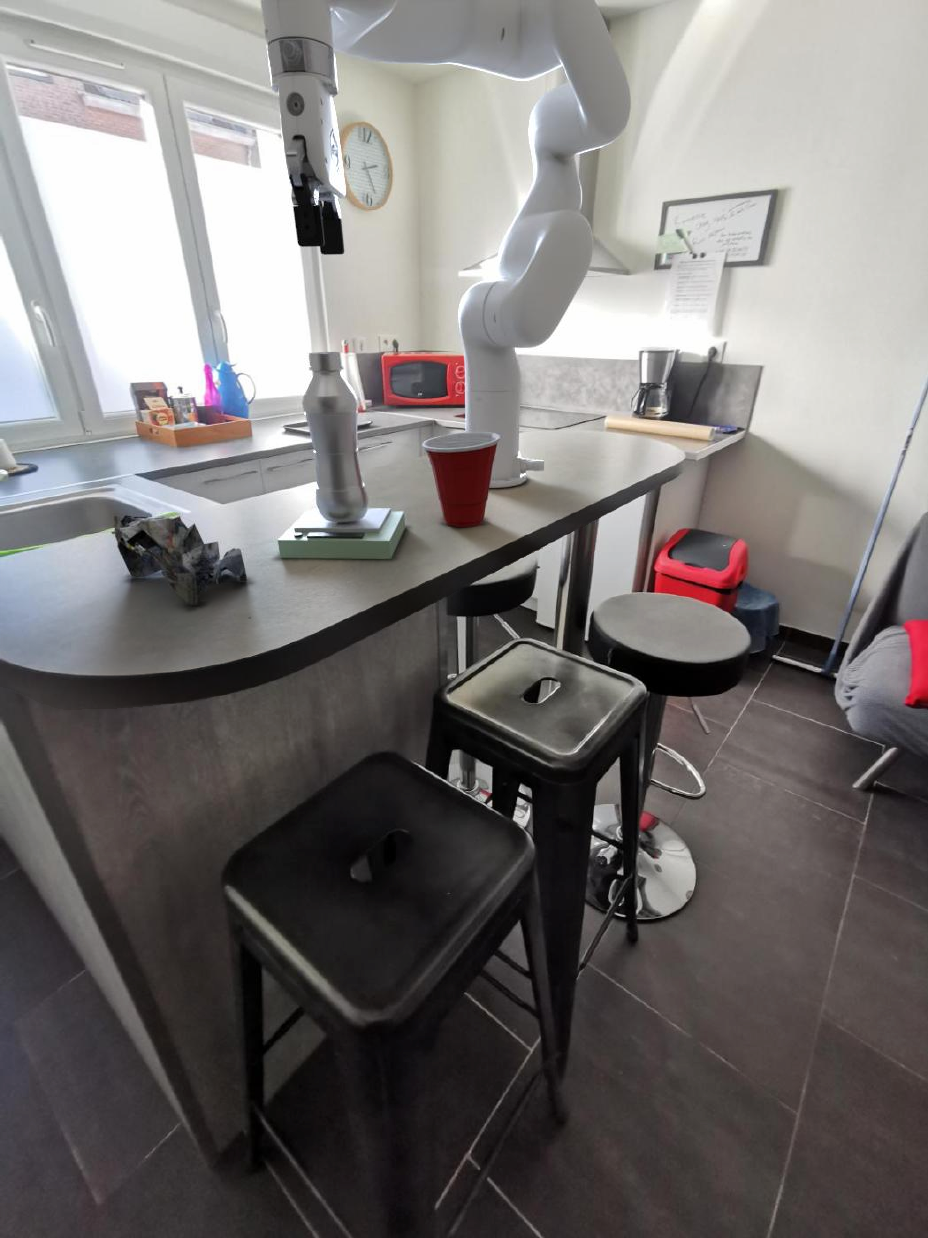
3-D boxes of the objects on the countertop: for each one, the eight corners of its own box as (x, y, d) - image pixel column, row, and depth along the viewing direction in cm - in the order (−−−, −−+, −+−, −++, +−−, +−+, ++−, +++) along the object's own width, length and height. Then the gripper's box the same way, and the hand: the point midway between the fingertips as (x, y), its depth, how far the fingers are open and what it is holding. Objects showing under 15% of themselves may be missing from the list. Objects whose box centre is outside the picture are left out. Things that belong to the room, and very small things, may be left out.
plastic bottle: (360, 529, 71) (341, 354, 62) (310, 526, 72) (284, 354, 63) (377, 513, 77) (362, 351, 67) (330, 511, 78) (310, 351, 68)
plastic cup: (424, 511, 87) (420, 431, 82) (493, 508, 88) (494, 428, 82) (426, 535, 78) (422, 445, 72) (504, 531, 79) (506, 443, 73)
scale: (405, 527, 81) (403, 507, 79) (390, 559, 70) (389, 536, 69) (309, 526, 81) (306, 506, 80) (280, 558, 71) (276, 535, 69)
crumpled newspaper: (121, 598, 53) (94, 483, 59) (150, 651, 62) (124, 546, 68) (248, 569, 58) (211, 464, 64) (258, 622, 67) (225, 526, 73)
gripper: (313, 39, 57) (333, 241, 65) (352, 98, 72) (365, 256, 80) (241, 42, 58) (270, 243, 66) (295, 100, 73) (313, 257, 81)
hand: (322, 250), depth 73 cm, fingers open, 9 cm apart
